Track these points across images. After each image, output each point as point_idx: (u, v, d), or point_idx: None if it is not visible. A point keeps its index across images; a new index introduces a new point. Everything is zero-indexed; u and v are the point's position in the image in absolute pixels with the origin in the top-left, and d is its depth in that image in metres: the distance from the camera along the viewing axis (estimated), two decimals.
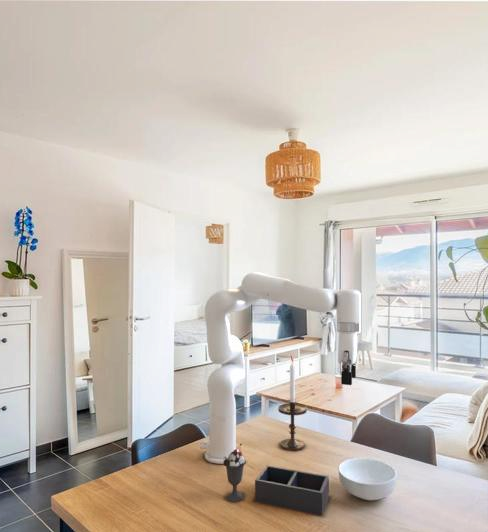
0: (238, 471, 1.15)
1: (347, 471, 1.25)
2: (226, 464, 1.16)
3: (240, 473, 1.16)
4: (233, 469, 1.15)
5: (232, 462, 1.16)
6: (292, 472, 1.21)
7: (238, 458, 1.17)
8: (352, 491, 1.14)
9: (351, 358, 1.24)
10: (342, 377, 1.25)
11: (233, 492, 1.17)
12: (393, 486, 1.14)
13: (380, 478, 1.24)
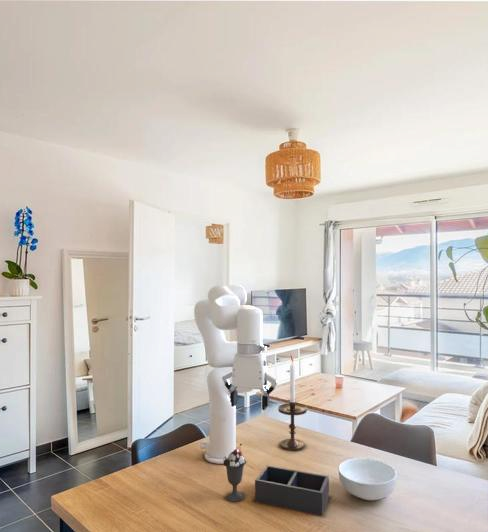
0: (238, 471, 1.15)
1: (347, 471, 1.25)
2: (226, 464, 1.16)
3: (240, 473, 1.16)
4: (233, 469, 1.15)
5: (232, 462, 1.16)
6: (292, 472, 1.21)
7: (238, 458, 1.17)
8: (352, 491, 1.14)
9: (232, 379, 1.20)
10: None
11: (233, 492, 1.17)
12: (393, 486, 1.14)
13: (380, 478, 1.24)
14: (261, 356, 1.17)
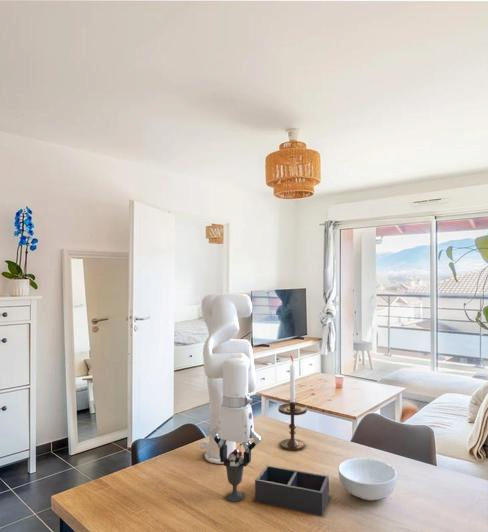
0: (238, 471, 1.15)
1: (347, 471, 1.25)
2: (226, 464, 1.16)
3: (240, 473, 1.16)
4: (233, 470, 1.15)
5: (232, 462, 1.16)
6: (292, 472, 1.21)
7: (238, 458, 1.17)
8: (352, 491, 1.14)
9: None
10: None
11: (233, 492, 1.17)
12: (393, 486, 1.14)
13: (380, 478, 1.24)
14: (246, 409, 1.15)
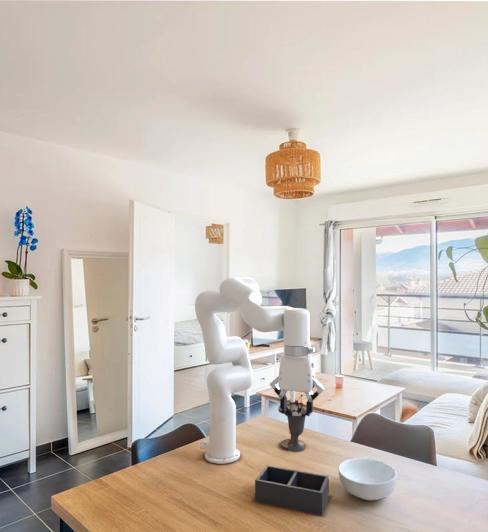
0: (301, 421, 1.13)
1: (347, 471, 1.25)
2: (288, 414, 1.14)
3: (302, 423, 1.14)
4: (296, 419, 1.13)
5: (294, 412, 1.14)
6: (292, 472, 1.21)
7: (300, 408, 1.15)
8: (352, 491, 1.14)
9: (279, 384, 1.16)
10: None
11: (295, 443, 1.15)
12: (393, 486, 1.14)
13: (380, 478, 1.24)
14: (309, 358, 1.14)
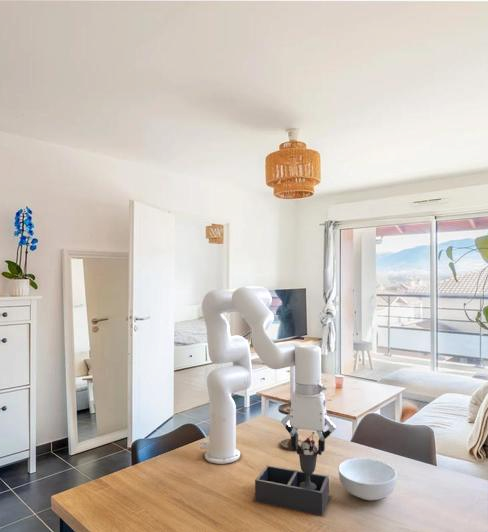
0: (312, 460, 1.13)
1: (347, 471, 1.25)
2: (300, 453, 1.13)
3: (314, 462, 1.13)
4: (308, 458, 1.13)
5: (306, 451, 1.13)
6: (292, 472, 1.21)
7: (312, 447, 1.14)
8: (352, 491, 1.14)
9: None
10: None
11: (306, 481, 1.14)
12: (393, 486, 1.14)
13: (380, 478, 1.24)
14: (321, 396, 1.13)
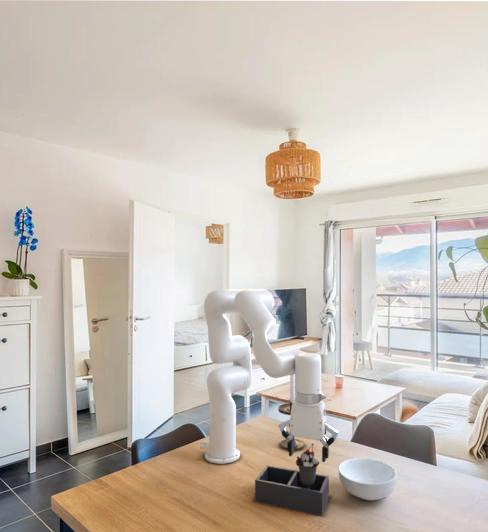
0: (312, 472, 1.13)
1: (347, 471, 1.25)
2: (300, 464, 1.13)
3: (314, 473, 1.13)
4: (307, 470, 1.12)
5: (306, 462, 1.13)
6: (292, 472, 1.21)
7: (311, 458, 1.14)
8: (352, 491, 1.14)
9: None
10: None
11: None
12: (393, 486, 1.14)
13: (380, 478, 1.24)
14: (321, 406, 1.13)
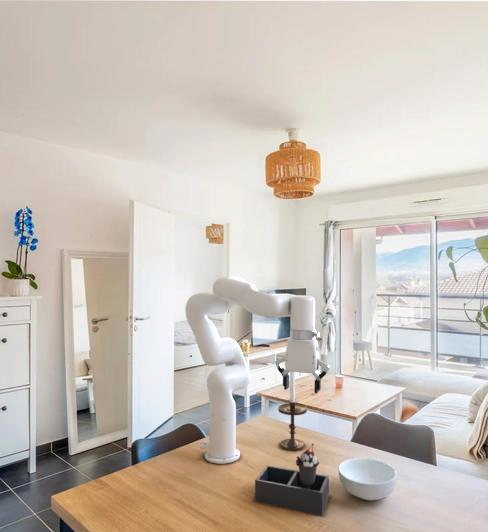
0: (312, 472, 1.13)
1: (347, 471, 1.25)
2: (300, 464, 1.13)
3: (314, 473, 1.13)
4: (307, 470, 1.12)
5: (306, 462, 1.13)
6: (292, 472, 1.21)
7: (311, 458, 1.14)
8: (352, 491, 1.14)
9: (285, 363, 1.25)
10: None
11: None
12: (393, 486, 1.14)
13: (380, 478, 1.24)
14: (314, 342, 1.22)
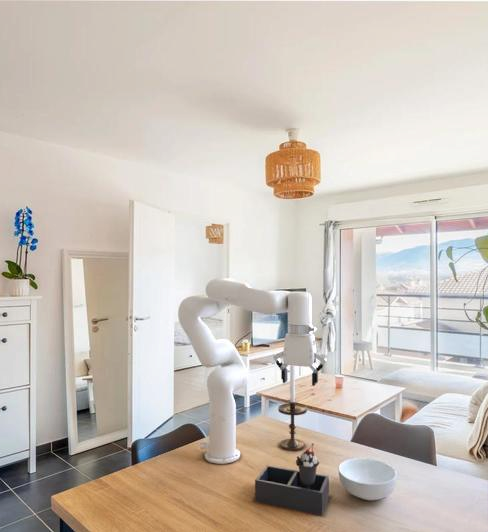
0: (312, 472, 1.13)
1: (347, 471, 1.25)
2: (300, 464, 1.13)
3: (314, 473, 1.13)
4: (307, 470, 1.12)
5: (306, 462, 1.13)
6: (292, 472, 1.21)
7: (311, 458, 1.14)
8: (352, 491, 1.14)
9: (283, 357, 1.29)
10: None
11: None
12: (393, 486, 1.14)
13: (380, 478, 1.24)
14: (311, 336, 1.27)
